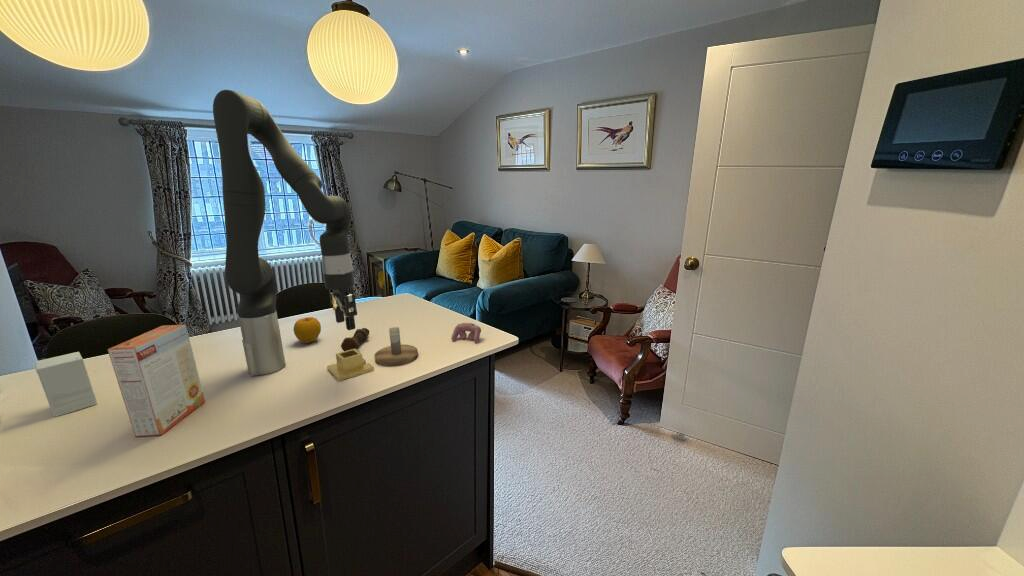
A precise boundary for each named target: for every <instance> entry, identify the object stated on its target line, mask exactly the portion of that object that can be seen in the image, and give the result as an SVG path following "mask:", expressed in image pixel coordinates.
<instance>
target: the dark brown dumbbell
mask: <svg viewBox="0 0 1024 576" xmlns="http://www.w3.org/2000/svg"><path fill="white" fill-rule="evenodd" d="M369 335H370V330H369V329H368V328H366V327H362V328H358V329H356V330H355V332H354V334H353V336H352V337H344V338H343V341H342V343H341V345H340V348H341V349H342V352H344V351H348V350H351V349H356V350H357V351H359V347H360V345H361V344H360V343H364V342H367V340H368V337H369Z"/></svg>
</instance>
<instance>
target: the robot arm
mask: <svg viewBox="0 0 1024 576" xmlns="http://www.w3.org/2000/svg"><path fill="white" fill-rule="evenodd" d="M212 116H213V121H214V126H215V132H216V133H215V134H216V139H217V143H218V148H219V157H220V159H219V160H220V167H221V169H220V170H221V181H222V182H221V184H222V187H221V188H222V201H223V202H222V203H223V212H224V227H225V240H226V242H225V243H226V247H225V248H226V250H225V262H224V263H225V264H224V265H225V266H224V278H225V282H226V284H227V286H228V287H229V288H230V289H231V290H232V291H233V292H234V293H236V294H239V295H240V300H239V302H238V305H237V306H236V307H237V308H236V311H237V316H238V321H239V327H240V332H241V337H242V340H241V341H242V346H243V351H244V356H245V362H246V367H247V370H248V372H249V375H250V376H251V377H255V376H262V375H268V374H272V373H275V372H278V371H280V370H282V369H283V368H285V366H286V360H285V355H284V347H283V342H282V336H281V329H280V325H279V318H278V312H277V306H276V304H277V298H278V297H277V290H276V283H275V280H276V279H275V275H274V271H273V268H272V266H271V264H270V263H269V262H268V261H267V260H265V259H264V258H262V257H260V256H259V255H260V254H259V241H260V240H259V239H260V235H261V233H262V232H261V231H262V228H263V224H264V221H265V216H266V195H265V194H266V190H265V186H264V183H263V179H262V177H261V175H260V173H259V171H258V170H257V168H256V166H255V164H254V162H253V160H252V157H251V155H250V154H251V153H250V149H249V139H248V138H249V137H248V135H251V136H252V137H253V138H254V139H255V140H257V141H258V142H259V143H260V144H261V145H263V147H265V149H266V150H267V152H268V153H269V155H270V157H271V158H272V161H273V165H274V167H275V169H276V170H277V173H278V174H279V175H280V176H281V178H282V179H283V180H284V181H285V183H287V184H288V185H289V187H290V188H291V189H292V190H293V191H294V192H295V193H296V195H297V196H298V198H299V200H300V202H301V204H302V206H303V207H304V210H305V211H306V212H307V213H308V216H310V217H311V218H312V219H313V220H314V221H315V222H318V223H319V224H323V225H325V231H324V232H323V233H322V234H321V235H320V236H319V245H320V252H321V267H322V273H323V279H324V287H325V289H327V290H328V292H329V294H328V295H329V299H330V307H332V310H333V311H334V315H335V321H336V323H337V324H340V323H343V322H345V327H346V330H347V331H352V330H355V329H356V321H355V316H357V315H358V311H357V310H358V308H357V304H356V297H355V294H354V293H351V292H350V288H352V287H354V286H355V276H354V267H353V260H352V258H351V253H350V245H349V239H348V237H349V230H350V219H351V217H350V216H351V215H350V214H351V213H350V209H349V205H348V203H347V201H346V200H345V199H344V198H342V197H341V196H339V195H326V194H325V193H324V192H323V191H322V187H323V182H322V180H321V178H320V177H319V176H318V174H317V173H316V172H315V171H314V170H313V169H312V168H311V167H310V166H309V165H308V163H306V161H305V160H304V159H303V158H302V157H301V155H299V153H298V152H297V150H295V148H294V147H293V145H292V144H291V143H290V142H289V140H288V139H287V137H286V136H285V134H284V133H283V132H282V130H281V129H280V127H279V125H277V122H276V121H275V119H274V118H273V116H272V114H271V113H270V112H269V110H268V109H267V107H266V106H265V105H264V104H263V103H262V102H261V101H259V100H258V99H256V98H254V97H251V96H249V95H246V94H244V93H242V92H241V93H240V92H237V91H235V90H232V89H222V90H220V91H218V92H217V94H216V95H215V96H214V99H213V102H212Z"/></svg>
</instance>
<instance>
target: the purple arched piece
mask: <svg viewBox="0 0 1024 576" xmlns="http://www.w3.org/2000/svg"><path fill="white" fill-rule="evenodd" d="M467 332H469V333H468V334H467ZM481 332H482V328H481V327H480V326H479V325H478V324H475V323H472V322H461V323H458V324H457V325H456V326H455V327H454V329H453V331H452V335H451V341H452V342H454V341H456V339H457V338H458V337H459V338H460V339H463V340H464V339H466V338H468V339H469V340H470V341H471V340H473V342H474V344H477V343H478V342H479V340H480V337H481Z"/></svg>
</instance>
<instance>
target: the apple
mask: <svg viewBox="0 0 1024 576" xmlns="http://www.w3.org/2000/svg"><path fill="white" fill-rule="evenodd" d="M321 330H322V326H321V322H320V321H319V320H318V319H317V318H316V317H313V316H308V317H303V318H299V319H297V320H296V321H295V323H294V326H293V333H294V336H295V338H296V339H297V340H298V341H299V342H300V343H301V344H309V343H313V342H316V341H317V339H318V338H319V335H320V334H321Z"/></svg>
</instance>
